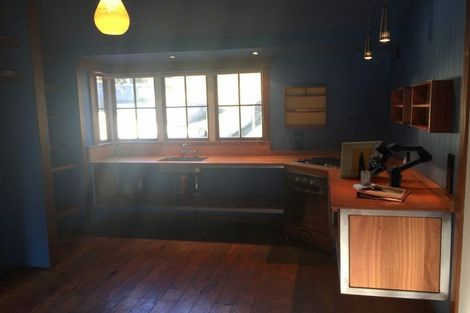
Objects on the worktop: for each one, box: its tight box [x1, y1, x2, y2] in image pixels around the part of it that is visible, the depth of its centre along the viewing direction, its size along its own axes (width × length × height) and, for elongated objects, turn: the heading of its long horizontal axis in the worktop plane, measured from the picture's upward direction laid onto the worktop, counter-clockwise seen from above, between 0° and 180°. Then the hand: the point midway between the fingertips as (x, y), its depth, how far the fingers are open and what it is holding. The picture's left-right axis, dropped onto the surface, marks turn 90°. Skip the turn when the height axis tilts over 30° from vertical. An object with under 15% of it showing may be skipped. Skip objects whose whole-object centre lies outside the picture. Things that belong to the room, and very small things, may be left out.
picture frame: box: [339, 140, 384, 180], centre depth 305 cm, size 33×10×30 cm, turn 92°
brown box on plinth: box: [359, 171, 372, 186], centre depth 265 cm, size 6×6×10 cm
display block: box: [353, 183, 375, 191], centre depth 265 cm, size 14×10×2 cm
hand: (369, 174), depth 265 cm, fingers open, 9 cm apart
